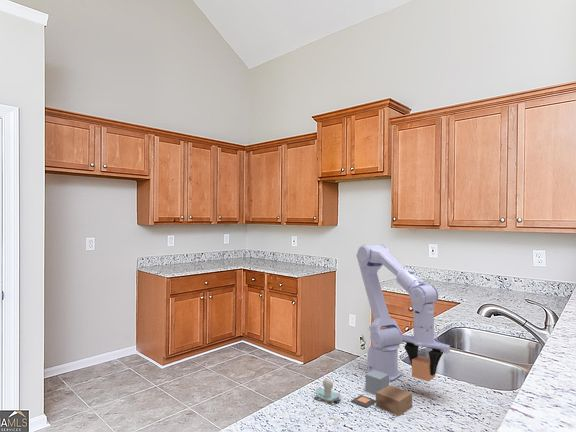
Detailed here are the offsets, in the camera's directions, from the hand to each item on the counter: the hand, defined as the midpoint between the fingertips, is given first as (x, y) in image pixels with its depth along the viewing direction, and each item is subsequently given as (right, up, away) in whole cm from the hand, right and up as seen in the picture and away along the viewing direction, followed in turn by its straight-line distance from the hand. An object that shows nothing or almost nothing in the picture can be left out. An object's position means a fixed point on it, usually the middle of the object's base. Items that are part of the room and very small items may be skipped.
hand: (423, 371), depth 107 cm
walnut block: (-11, -6, -8) cm, 15 cm away
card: (-19, -6, -6) cm, 21 cm away
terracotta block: (0, -1, 0) cm, 1 cm away
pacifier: (-29, -7, -4) cm, 30 cm away
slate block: (-13, -7, +2) cm, 15 cm away
